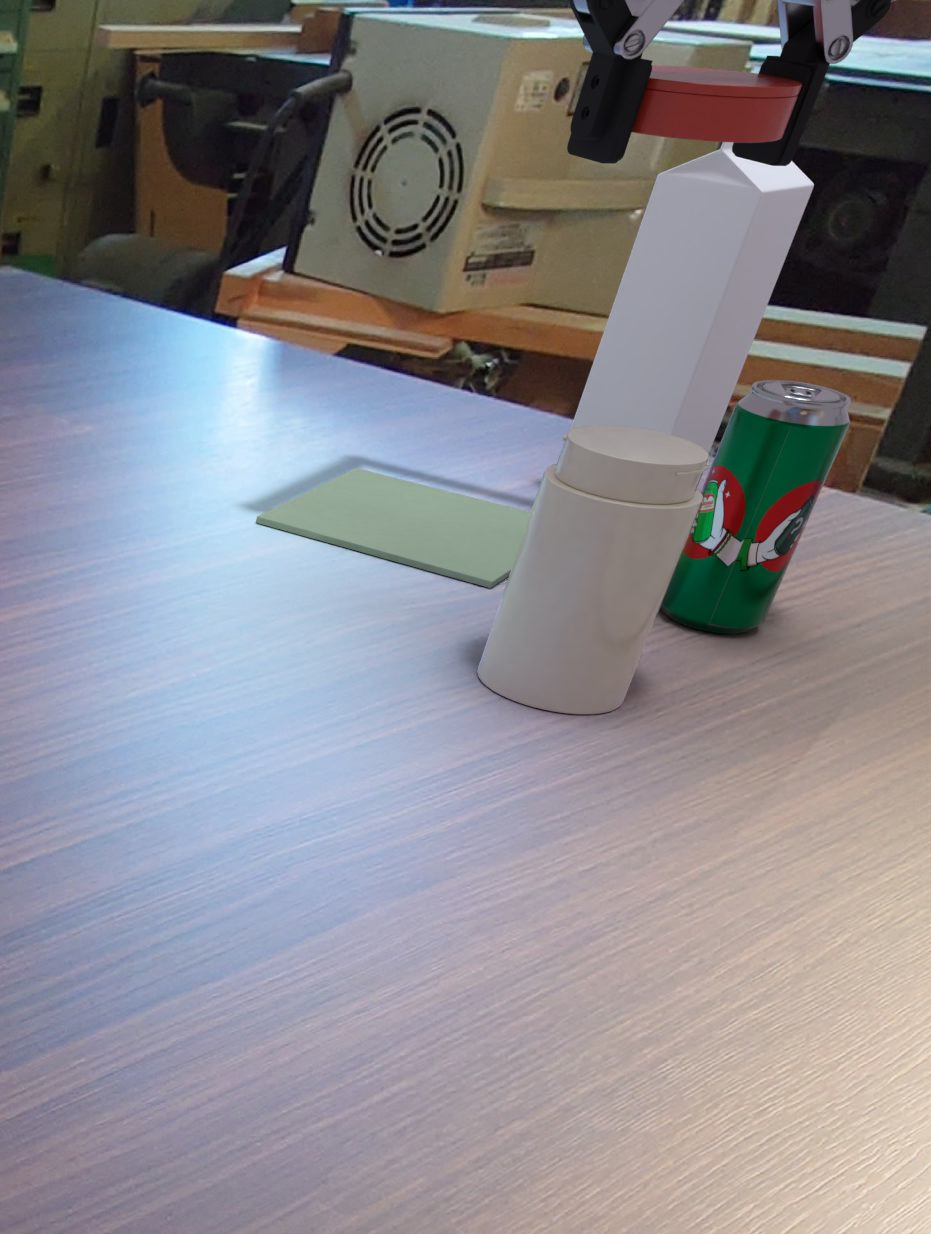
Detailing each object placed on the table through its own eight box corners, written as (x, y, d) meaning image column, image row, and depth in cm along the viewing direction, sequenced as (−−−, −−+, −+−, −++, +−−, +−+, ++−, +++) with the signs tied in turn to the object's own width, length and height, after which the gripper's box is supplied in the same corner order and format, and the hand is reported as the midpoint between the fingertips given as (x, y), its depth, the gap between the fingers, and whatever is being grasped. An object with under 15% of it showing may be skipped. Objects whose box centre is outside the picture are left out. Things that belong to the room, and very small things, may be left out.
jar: (626, 676, 83) (720, 438, 77) (619, 726, 79) (719, 477, 72) (484, 647, 86) (563, 414, 79) (469, 694, 81) (552, 449, 74)
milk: (545, 499, 106) (674, 112, 94) (597, 484, 109) (729, 106, 97) (638, 528, 102) (786, 126, 90) (690, 511, 105) (840, 120, 93)
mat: (577, 530, 101) (580, 524, 101) (490, 588, 93) (492, 581, 93) (354, 473, 109) (356, 467, 109) (255, 522, 101) (256, 516, 100)
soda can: (761, 614, 91) (859, 388, 84) (758, 645, 87) (861, 412, 81) (658, 594, 93) (745, 371, 86) (651, 623, 89) (742, 394, 83)
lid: (648, 140, 70) (667, 84, 69) (562, 115, 77) (578, 63, 75) (819, 145, 71) (841, 89, 70) (720, 119, 77) (738, 68, 76)
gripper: (706, -366, 60) (542, 172, 70) (1133, -341, 62) (915, 177, 72) (583, -349, 66) (449, 144, 76) (976, -328, 69) (795, 149, 79)
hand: (677, 157), depth 74 cm, fingers closed on lid, 7 cm apart
